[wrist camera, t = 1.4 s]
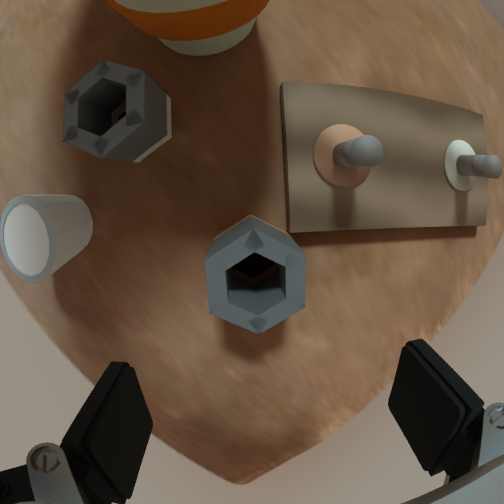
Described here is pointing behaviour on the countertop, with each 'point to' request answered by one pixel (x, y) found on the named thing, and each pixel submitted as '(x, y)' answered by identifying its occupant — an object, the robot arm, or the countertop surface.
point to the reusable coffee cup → (193, 22)
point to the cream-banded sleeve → (117, 113)
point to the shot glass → (43, 233)
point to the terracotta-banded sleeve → (261, 287)
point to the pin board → (381, 160)
